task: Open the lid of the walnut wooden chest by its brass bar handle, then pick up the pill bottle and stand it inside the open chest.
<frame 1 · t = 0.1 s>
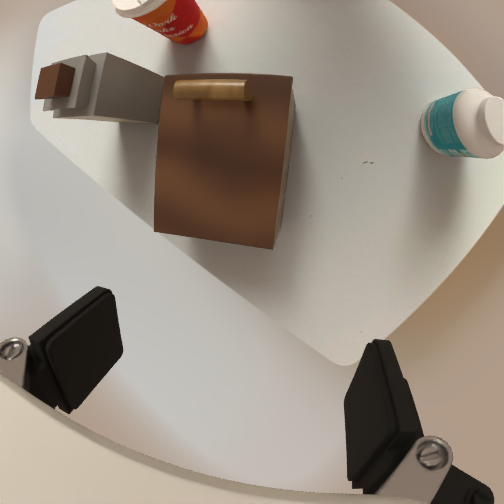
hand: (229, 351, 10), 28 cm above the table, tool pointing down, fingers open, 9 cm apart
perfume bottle: (141, 100, 34), on the table
chest lid: (209, 155, 24), point 11 cm above the table, hinge at 0.0°
chest: (238, 159, 35), on the table
paper cup: (189, 28, 30), on the table
pill bottle: (442, 128, 28), on the table
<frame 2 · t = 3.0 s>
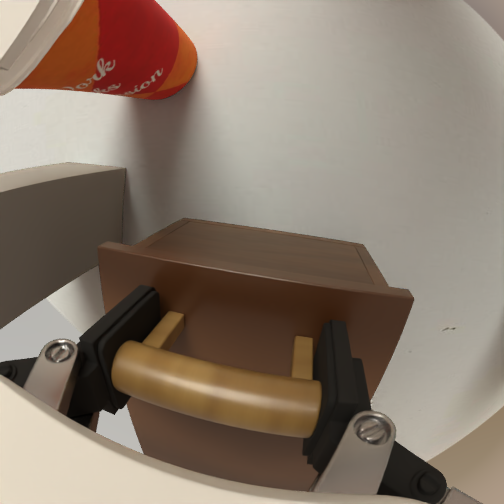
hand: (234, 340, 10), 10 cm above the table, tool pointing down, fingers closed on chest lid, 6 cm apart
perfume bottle: (93, 204, 21), on the table
chest lid: (221, 445, 11), point 11 cm above the table, hinge at 0.0°, touching gripper
chest: (258, 327, 22), on the table
paper cup: (164, 66, 17), on the table
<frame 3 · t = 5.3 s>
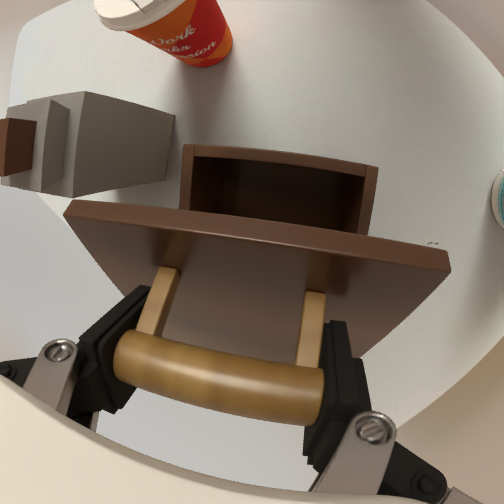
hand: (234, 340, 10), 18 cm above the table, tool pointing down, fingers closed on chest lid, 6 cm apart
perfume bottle: (142, 145, 27), on the table
chest lid: (239, 368, 13), point 16 cm above the table, hinge at 37.7°, touching gripper
chest: (276, 237, 28), on the table
paper cup: (207, 45, 23), on the table
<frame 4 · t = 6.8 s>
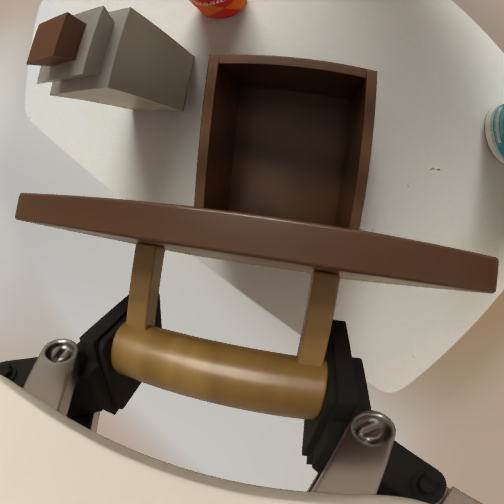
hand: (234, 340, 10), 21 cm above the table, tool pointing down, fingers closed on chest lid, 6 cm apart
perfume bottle: (162, 83, 27), on the table
chest lid: (250, 299, 13), point 18 cm above the table, hinge at 68.2°, touching gripper
chest: (288, 158, 28), on the table
paper cup: (224, 2, 23), on the table
pill bottle: (502, 135, 22), on the table
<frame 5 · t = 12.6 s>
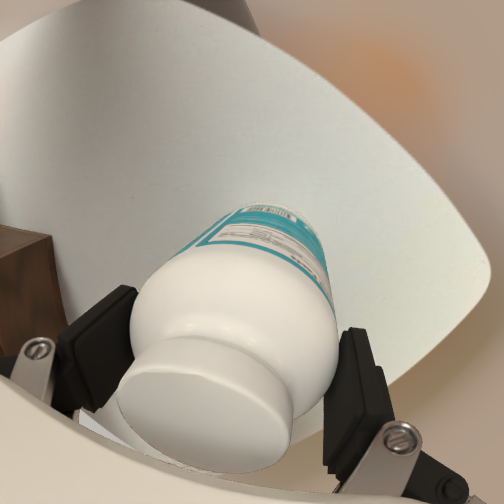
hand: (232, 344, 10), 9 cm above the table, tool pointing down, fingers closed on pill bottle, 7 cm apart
chest: (29, 293, 25), on the table
pill bottle: (267, 256, 19), on the table, touching gripper
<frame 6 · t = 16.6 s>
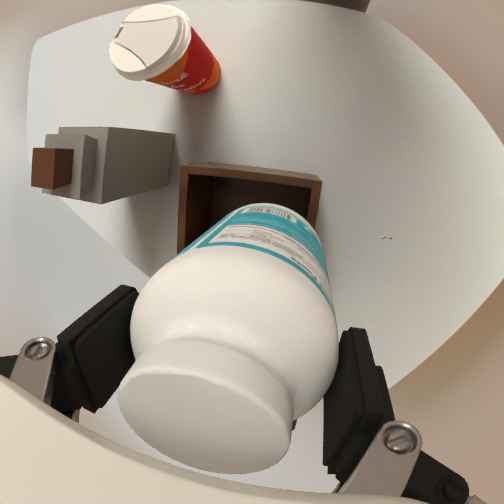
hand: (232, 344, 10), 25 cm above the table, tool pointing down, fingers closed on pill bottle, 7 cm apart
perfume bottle: (149, 157, 34), on the table
chest lid: (207, 375, 21), point 18 cm above the table, hinge at 69.1°
chest: (255, 232, 35), on the table
paper cup: (200, 75, 30), on the table
pill bottle: (267, 256, 19), point 16 cm above the table, touching gripper
when the fingers open (10 cm above the table, at t = 20.7 s): pill bottle stays where it is, resting on chest.
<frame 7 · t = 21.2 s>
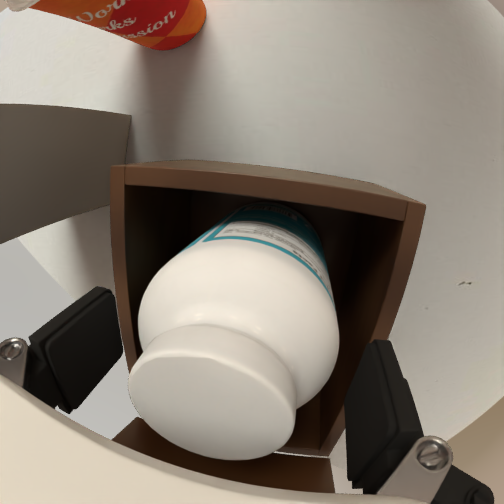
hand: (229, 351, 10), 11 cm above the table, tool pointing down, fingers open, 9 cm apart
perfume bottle: (95, 155, 20), on the table
chest: (265, 278, 21), on the table
paper cup: (173, 22, 16), on the table
pill bottle: (268, 254, 19), point 1 cm above the table, touching chest
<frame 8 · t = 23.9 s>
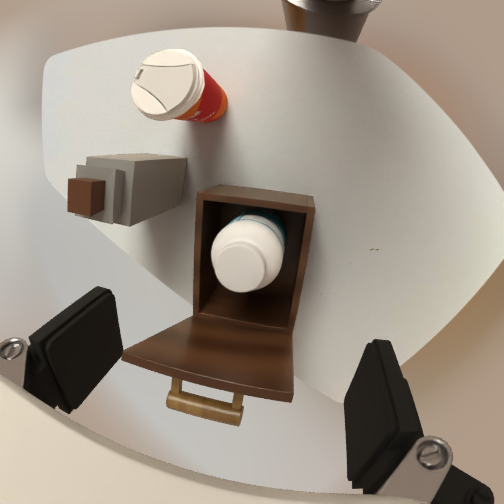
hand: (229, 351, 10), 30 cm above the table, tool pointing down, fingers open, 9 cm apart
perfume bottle: (163, 178, 40), on the table
chest lid: (223, 367, 26), point 18 cm above the table, hinge at 69.1°
chest: (259, 245, 40), on the table
paper cup: (209, 104, 35), on the table
pill bottle: (260, 232, 39), point 1 cm above the table, touching chest
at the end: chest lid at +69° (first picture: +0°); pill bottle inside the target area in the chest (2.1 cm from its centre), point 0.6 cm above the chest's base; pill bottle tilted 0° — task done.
